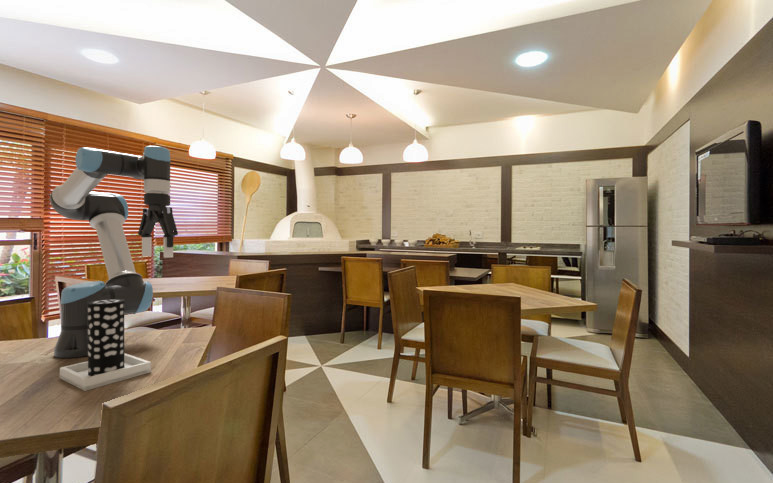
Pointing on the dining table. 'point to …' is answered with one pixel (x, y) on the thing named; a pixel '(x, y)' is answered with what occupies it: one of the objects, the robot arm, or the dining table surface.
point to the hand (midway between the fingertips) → (157, 257)
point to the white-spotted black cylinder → (105, 336)
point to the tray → (82, 380)
